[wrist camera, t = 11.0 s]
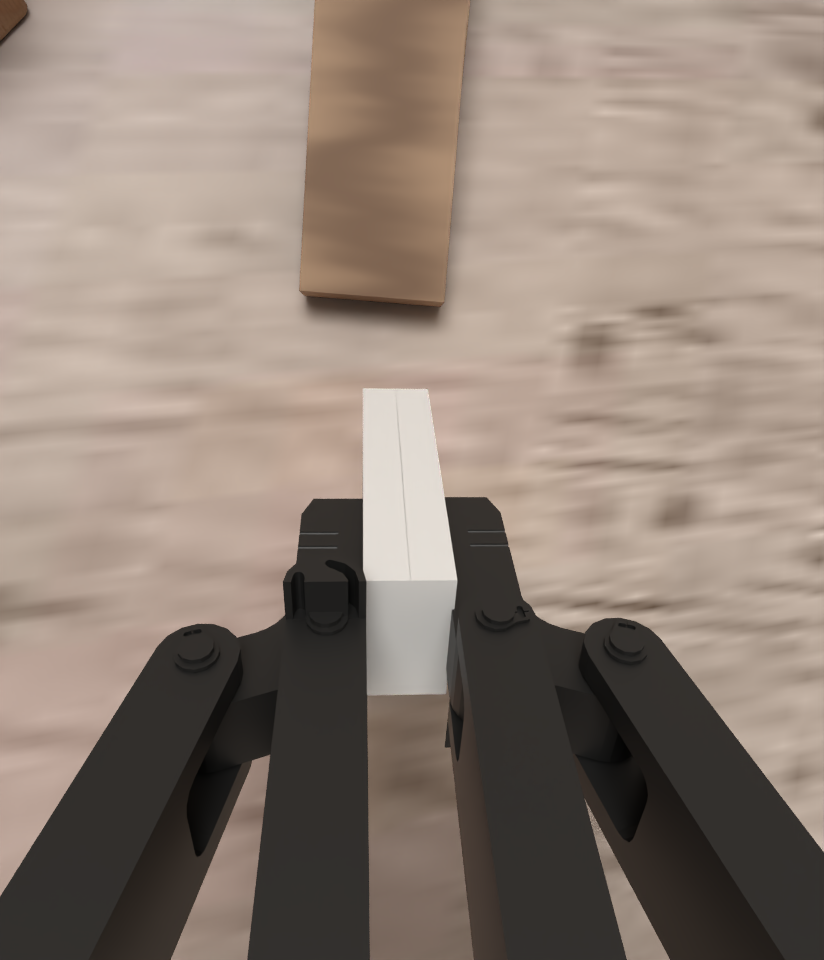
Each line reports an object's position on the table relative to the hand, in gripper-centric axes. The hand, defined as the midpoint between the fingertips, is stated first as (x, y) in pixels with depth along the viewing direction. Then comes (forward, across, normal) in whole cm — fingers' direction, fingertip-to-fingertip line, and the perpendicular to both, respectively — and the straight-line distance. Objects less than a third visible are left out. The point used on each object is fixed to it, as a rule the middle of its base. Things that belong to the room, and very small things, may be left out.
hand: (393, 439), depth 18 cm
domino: (+11, 0, 0) cm, 11 cm away
